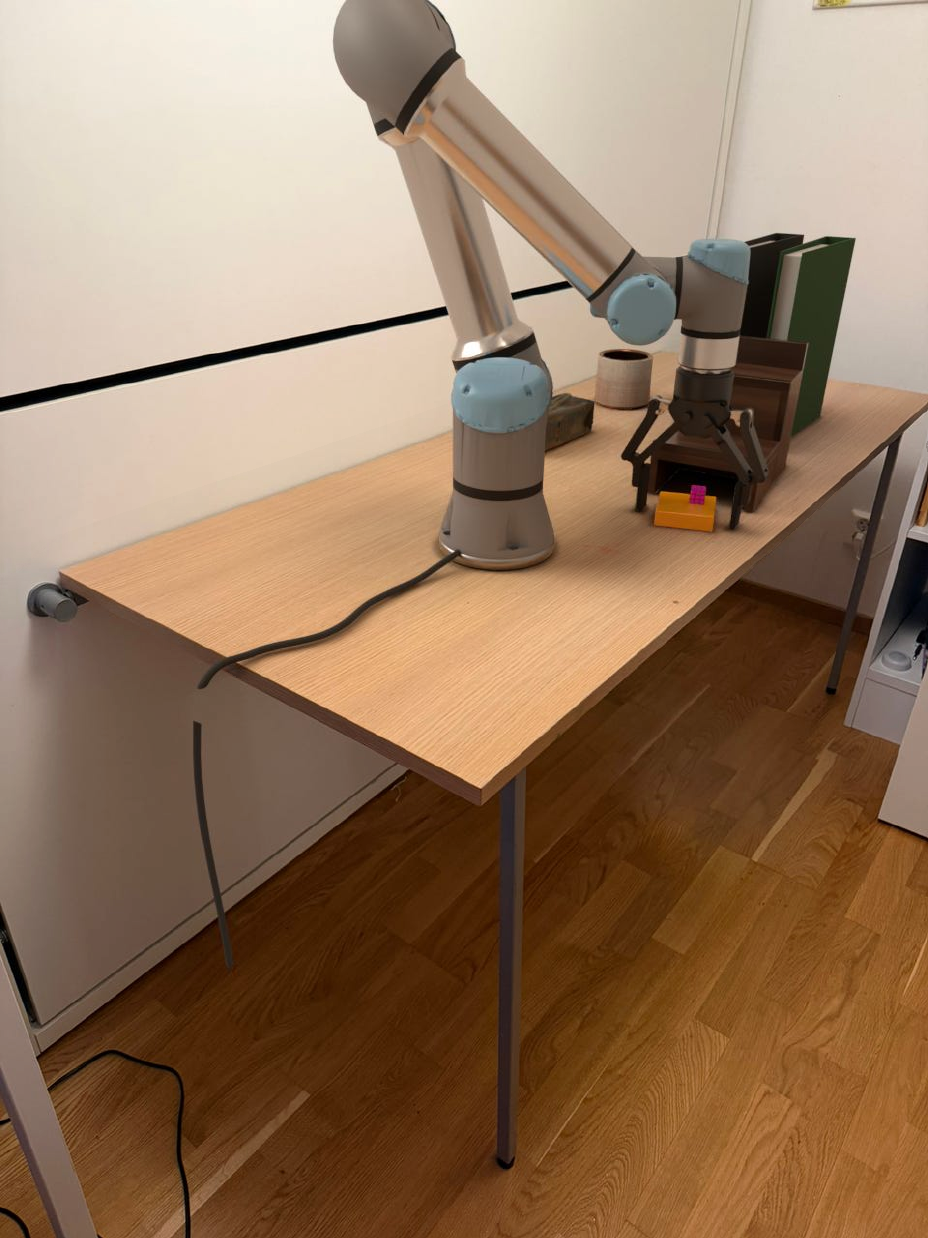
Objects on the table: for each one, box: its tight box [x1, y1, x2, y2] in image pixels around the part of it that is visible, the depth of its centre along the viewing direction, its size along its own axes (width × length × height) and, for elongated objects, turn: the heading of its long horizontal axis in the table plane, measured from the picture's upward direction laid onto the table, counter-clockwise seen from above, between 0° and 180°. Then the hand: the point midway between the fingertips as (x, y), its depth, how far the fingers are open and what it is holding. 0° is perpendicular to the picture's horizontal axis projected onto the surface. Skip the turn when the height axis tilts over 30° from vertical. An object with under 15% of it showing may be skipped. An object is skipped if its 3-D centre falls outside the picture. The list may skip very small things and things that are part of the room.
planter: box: [594, 348, 654, 410], centre depth 178 cm, size 11×11×10 cm
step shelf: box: [648, 335, 808, 513], centre depth 137 cm, size 23×16×20 cm
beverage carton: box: [545, 392, 596, 451], centre depth 157 cm, size 8×19×7 cm, turn 140°
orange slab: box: [653, 484, 717, 532], centre depth 127 cm, size 8×8×4 cm
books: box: [740, 232, 856, 438], centre depth 159 cm, size 27×15×32 cm, turn 145°
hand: (686, 517), depth 128 cm, fingers open, 13 cm apart
